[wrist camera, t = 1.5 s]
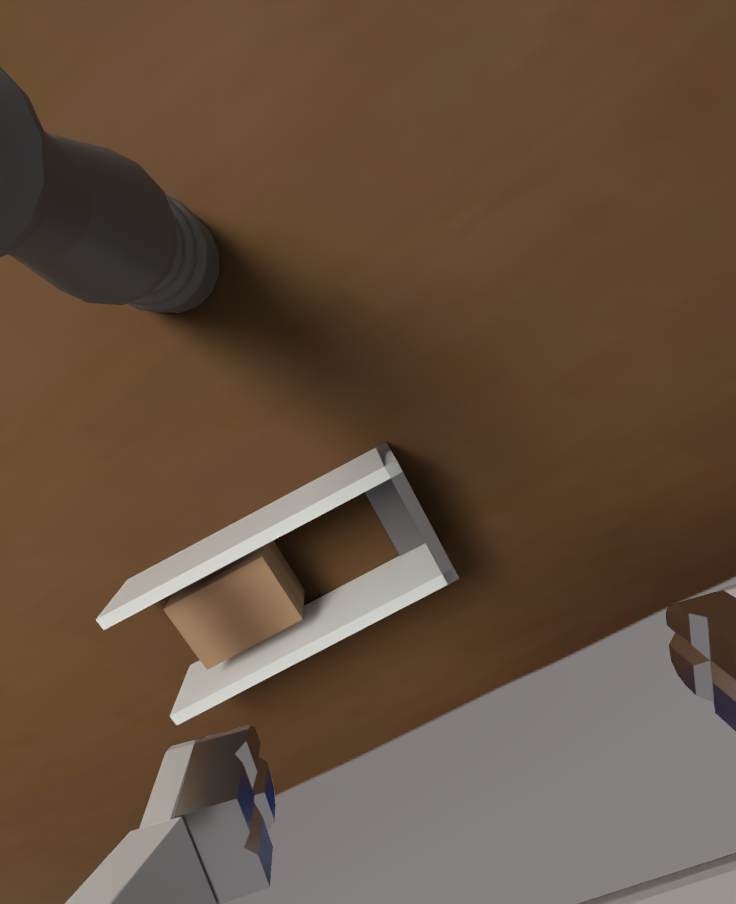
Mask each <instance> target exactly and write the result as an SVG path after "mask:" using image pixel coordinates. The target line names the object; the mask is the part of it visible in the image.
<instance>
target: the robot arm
mask: <svg viewBox="0 0 736 904" xmlns="http://www.w3.org/2000/svg"><path fill="white" fill-rule="evenodd" d="M666 620H667V625H668V626H669V627H670V628H671V629H672V630H673V631H674V632H675V634H674V636H673V638H672V640H671V642H670V644H669V649H670V655H671V661H672V663H673V665H674V667H675V670H676V672H677V674H678V676H679V677H680V678H681V680H682V681H683V682H684V684H685V685H686V686H687V687H688V688H689V689H690V690H691V691H692V692H693V693H694V694H695V695H697V696H700V697H702V698H705V699H708V700H711V701H713V702H714V707H715V713H716V714H717V715H718V716H719V717H721V718H722V719H723V720H724V721H725V722H726V723H727V724H728V725H729V726H730V727H732V728H733V729H734V730H735V731H736V585H733V586H730V587H726V588H723V589H720V590H717V591H716V592H714V593H710V594H707V595H703V596H700V597H696V598H693V599H689V600H686V601H682V602H679V603H676V604H672V605H669V606H668V608H667V611H666ZM259 751H260V740H259V737H258V735H257V732H256V729H255V728H254V727H253V726H252V725H249V726H245V727H241V728H237V729H234V730H230V731H226V732H222V733H218V734H214V735H211V736H207V737H203V738H199V739H198V740H193V741H189V742H185V743H182V744H178V745H174V746H171V747H170V748H169V749H168V750H167V751H166V753H165V756H164V759H163V761H162V764H161V767H160V770H159V773H158V776H157V779H156V782H155V784H154V787H153V790H152V793H151V796H150V799H149V802H148V805H147V807H146V810H145V813H144V816H143V819H142V822H141V825H140V828H139V829H137V830H134V831H130V832H129V833H128V835H127V836H126V837H125V838H124V839H123V840H122V841H121V842H120V843H119V845H118V846H117V847H116V848H115V849H114V850H113V851H112V852H111V853H110V854H109V856H108V857H107V858H106V859H105V860H104V861H103V862H102V863H101V864H100V866H99V867H98V868H97V869H96V870H95V871H94V872H93V873H92V874H91V875H90V877H89V878H88V879H87V880H86V881H85V882H84V883H83V884H82V885H81V886H80V888H79V889H78V890H77V891H76V892H75V893H74V894H73V895H72V896H71V898H70V899H69V900H68V901H67V902H66V903H65V904H222V903H224V902H227V901H231V900H234V899H236V898H239V897H242V896H245V895H248V894H251V893H254V892H257V891H260V890H263V889H265V888H268V887H270V878H271V865H272V851H273V846H272V843H271V840H270V837H269V834H268V831H269V829H270V828H271V826H272V825H273V823H274V821H275V795H274V785H273V781H272V776H271V772H270V769H269V766H268V763H267V762H266V761H265V760H263V759H262V758H260V757H259ZM578 904H736V853H734V854H731V855H727V856H724V857H721V858H718V859H715V860H712V861H709V862H706V863H703V864H699V865H697V866H693V867H690V868H687V869H684V870H681V871H678V872H675V873H671V874H668V875H665V876H662V877H659V878H656V879H653V880H650V881H646V882H643V883H640V884H637V885H634V886H631V887H628V888H625V889H621V890H619V891H615V892H612V893H609V894H606V895H603V896H600V897H597V898H593V899H590V900H587V901H584V902H581V903H578Z"/></svg>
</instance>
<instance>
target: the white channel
mask: <svg viewBox="0 0 736 904" xmlns="http://www.w3.org/2000/svg"><path fill="white" fill-rule="evenodd" d="M395 487H396V488H395ZM364 492H365V494H366V496H367V498H368V499H369V501H370V503H371V505H372V507H373V508H374V510H375V512H376V514H377V516H378V517H379V519H380V521H381V523H382V525H383V526H384V528H385V530H386V532H387V534H388V535H389V537H390V539H391V541H392V542H393V544H394V546H395V548H396V550H397V551H398V553H399V555H400V556H398V557H396V558H394V559H392V560H390V561H389V562H387V563H385V564H383V565H381V566H379V567H377V568H375V569H373V570H371V571H369V572H367V573H366V574H364V575H362V576H360V577H358V578H356V579H354V580H352V581H350V582H348V583H346V584H345V585H343V586H341V587H339V588H337V589H335V590H333V591H331V592H329V593H327V594H325V595H324V596H322V597H320V598H318V599H316V600H314V601H312V602H310V603H308V604H306V605H304V608H303V620H301V621H299V622H297V623H295V624H293V625H291V626H290V627H288V628H286V629H284V630H282V631H280V632H278V633H276V634H274V635H272V636H271V637H269V638H267V639H265V640H263V641H261V642H259V643H257V644H255V645H254V646H252V647H250V648H248V649H246V650H244V651H242V652H240V653H238V654H236V655H235V656H233V657H231V658H229V659H227V660H225V661H223V662H221V663H219V664H218V665H216V666H214V667H212V668H210V669H208V670H207V669H206V668H205V666H204V665H203V664H202V662H201V661H200V660H199V661H197V662H195V663H194V664H192V665H190V667H189V669H188V672H187V674H186V677H185V679H184V682H183V684H182V687H181V689H180V692H179V694H178V697H177V699H176V702H175V704H174V707H173V709H172V712H171V714H170V717H171V719H172V720H173V721H174V723H175V724H176V725H179V724H181V723H182V722H184V721H186V720H188V719H190V718H192V717H194V716H196V715H198V714H200V713H202V712H204V711H206V710H207V709H209V708H211V707H213V706H215V705H217V704H219V703H221V702H223V701H225V700H227V699H229V698H231V697H233V696H234V695H236V694H238V693H240V692H242V691H244V690H246V689H248V688H250V687H252V686H254V685H256V684H258V683H259V682H261V681H263V680H265V679H267V678H269V677H271V676H273V675H275V674H277V673H279V672H281V671H283V670H285V669H286V668H288V667H290V666H292V665H294V664H296V663H298V662H300V661H302V660H304V659H306V658H308V657H310V656H311V655H313V654H315V653H317V652H319V651H321V650H323V649H325V648H327V647H329V646H331V645H333V644H335V643H337V642H338V641H340V640H342V639H344V638H346V637H348V636H350V635H352V634H354V633H356V632H358V631H360V630H362V629H363V628H365V627H367V626H369V625H371V624H373V623H375V622H377V621H379V620H381V619H383V618H385V617H387V616H389V615H390V614H392V613H394V612H396V611H398V610H400V609H402V608H404V607H406V606H408V605H410V604H412V603H414V602H415V601H417V600H419V599H421V598H423V597H425V596H427V595H429V594H431V593H433V592H435V591H437V590H439V589H441V588H442V587H444V586H446V585H448V584H450V583H452V582H454V581H456V580H458V579H459V577H458V575H457V573H456V571H455V570H454V568H453V566H452V564H451V562H450V560H449V558H448V556H447V554H446V553H445V551H444V549H443V547H442V545H441V543H440V541H439V539H438V537H437V536H436V534H435V532H434V530H433V528H432V526H431V524H430V522H429V520H428V519H427V517H426V515H425V513H424V511H423V509H422V507H421V505H420V503H419V502H418V500H417V498H416V496H415V494H414V492H413V490H412V488H411V486H410V485H409V483H408V481H407V479H406V477H405V475H404V473H403V471H402V469H401V468H400V466H399V464H398V462H397V460H396V458H395V456H394V455H393V453H392V451H391V450H390V448H389V446H388V444H387V443H386V442H385V443H383V444H381V445H379V446H378V447H376V448H374V449H372V450H370V451H368V452H366V453H364V454H363V455H361V456H359V457H357V458H355V459H353V460H351V461H349V462H348V463H346V464H344V465H342V466H340V467H338V468H336V469H334V470H332V471H331V472H329V473H327V474H325V475H323V476H321V477H319V478H317V479H316V480H314V481H312V482H310V483H308V484H306V485H304V486H302V487H301V488H299V489H297V490H295V491H293V492H291V493H289V494H287V495H285V496H284V497H282V498H280V499H278V500H276V501H274V502H272V503H270V504H269V505H267V506H265V507H263V508H261V509H259V510H257V511H255V512H254V513H252V514H250V515H248V516H246V517H244V518H242V519H240V520H239V521H237V522H235V523H233V524H231V525H229V526H227V527H225V528H223V529H222V530H220V531H218V532H216V533H214V534H212V535H210V536H208V537H207V538H205V539H203V540H201V541H199V542H197V543H195V544H193V545H192V546H190V547H188V548H186V549H184V550H182V551H180V552H178V553H177V554H175V555H173V556H171V557H169V558H167V559H165V560H163V561H161V562H160V563H158V564H156V565H154V566H152V567H150V568H148V569H146V570H145V571H143V572H141V573H139V574H137V575H135V576H133V577H131V578H130V579H128V580H127V581H126V582H125V583H124V585H123V586H122V587H121V588H120V590H119V591H118V592H117V593H116V595H115V596H114V597H113V599H112V600H111V601H110V602H109V604H108V605H107V606H106V607H105V609H104V610H103V611H102V612H101V614H100V615H99V616H98V617H97V619H96V621H97V622H98V623H99V625H100V626H101V627H102V629H103V630H105V629H107V628H109V627H111V626H112V625H114V624H116V623H118V622H120V621H122V620H124V619H126V618H128V617H129V616H131V615H133V614H135V613H137V612H139V611H141V610H143V609H145V608H146V607H148V606H150V605H152V604H154V603H156V602H158V601H160V600H162V599H163V598H165V597H167V596H169V595H171V594H173V593H175V592H177V591H179V590H180V589H182V588H184V587H186V586H188V585H190V584H192V583H194V582H196V581H197V580H199V579H201V578H203V577H205V576H207V575H209V574H211V573H213V572H214V571H216V570H218V569H220V568H222V567H224V566H226V565H228V564H230V563H231V562H233V561H235V560H237V559H239V558H241V557H243V556H245V555H247V554H248V553H250V552H252V551H254V550H256V549H258V548H260V547H262V546H264V545H265V544H267V543H269V542H271V541H273V540H275V539H277V538H279V537H281V536H282V535H284V534H286V533H288V532H290V531H292V530H294V529H296V528H298V527H300V526H301V525H303V524H305V523H307V522H309V521H311V520H313V519H315V518H317V517H318V516H320V515H322V514H324V513H326V512H328V511H330V510H332V509H334V508H335V507H337V506H339V505H341V504H343V503H345V502H347V501H349V500H351V499H352V498H354V497H356V496H358V495H360V494H362V493H364ZM417 528H418V529H417ZM424 541H425V542H424ZM409 550H410V551H409Z"/></svg>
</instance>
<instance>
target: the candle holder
mask: <svg viewBox="0 0 736 904" xmlns="http://www.w3.org/2000/svg"><path fill="white" fill-rule="evenodd" d="M7 254H8V255H11V256H12V257H14V258H15V259H17V260H18V261H19V262H21V263H22V264H24V265H25V266H27V267H28V268H29V269H31V270H32V271H34V272H35V273H37V274H38V275H40V276H41V277H42V278H44V279H45V280H46V281H48V282H49V283H51V284H52V285H53V286H55V287H56V288H58V289H59V290H61V291H64V292H66V293H68V294H70V295H72V296H74V297H77V298H79V299H81V300H83V301H85V302H88V303H99V304H116V305H123V304H126V303H127V304H129V305H131V306H133V307H135V308H137V309H140V310H146V311H154V312H165V313H182V312H184V311H187V310H190V309H193V308H195V307H198V306H199V305H200V304H201V303H202V302H203V301H204V300H205V299H206V298H207V297H208V296H209V295H210V294H211V293H212V292H213V289H214V287H215V284H216V282H217V279H218V277H219V251H218V249H217V246H216V244H215V241H214V239H213V236H212V234H211V232H210V231H209V230H208V229H207V228H206V226H205V225H204V224H203V223H202V222H201V221H200V220H199V219H198V218H197V216H196V215H194V214H193V213H192V212H191V211H190V210H189V209H188V208H187V207H186V206H185V205H183V204H182V203H181V202H179V201H177V200H176V199H174V198H172V197H170V196H168V195H166V194H165V193H164V191H163V190H162V189H161V188H160V187H159V186H158V185H157V183H156V182H155V181H154V180H153V179H152V178H151V177H150V176H149V175H148V174H147V173H146V171H145V170H144V169H143V168H142V167H141V166H140V165H138V164H137V163H136V162H134V161H132V160H130V159H128V158H126V157H124V156H122V155H120V154H118V153H116V152H114V151H112V150H110V149H108V148H105V147H100V146H96V145H92V144H88V143H83V142H79V141H75V140H71V139H67V138H63V137H59V136H55V135H51V134H47V133H46V132H45V131H44V130H43V128H42V126H41V123H40V121H39V119H38V117H37V115H36V113H35V110H34V108H33V106H32V104H31V102H30V99H29V97H28V96H27V95H26V94H25V93H24V92H23V91H22V89H21V88H20V87H19V86H18V85H17V84H16V83H15V82H14V81H13V80H12V79H11V78H10V77H9V76H8V75H7V73H6V72H5V71H4V70H3V69H2V68H1V67H0V257H2V256H4V255H7Z"/></svg>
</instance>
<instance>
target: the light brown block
mask: <svg viewBox="0 0 736 904" xmlns="http://www.w3.org/2000/svg"><path fill="white" fill-rule="evenodd" d="M304 594H305V590H304V588H303V587H302V585H301V583H300V582H299V580H298V579H297V577H296V576H295V574H294V572H293V571H292V569H291V568H290V566H289V564H288V563H287V561H286V560H285V558H284V557H283V555H282V553H281V552H280V550H279V549H278V547H277V545H276V544H275V542H274V541H271V542H269V543H267V544H265V545H264V546H262V547H260V548H258V549H256V550H254V551H252V552H250V553H248V554H247V555H245V556H243V557H241V558H239V559H237V560H235V561H233V562H231V563H230V564H228V565H226V566H224V567H222V568H220V569H218V570H216V571H214V572H213V573H211V574H209V575H207V576H205V577H203V578H201V579H199V580H197V581H196V582H194V583H192V584H190V585H188V586H186V587H184V588H182V589H180V590H179V591H177V592H175V593H173V594H172V595H171V597H170V599H169V600H168V602H167V604H166V606H165V607H164V609H163V610H164V611H165V613H166V614H167V615H168V617H169V618H170V620H171V621H172V622H173V624H174V625H175V626H176V628H177V629H178V631H179V632H180V633H181V635H182V636H183V637H184V639H185V640H186V642H187V643H188V644H189V646H190V647H191V648H192V650H193V651H194V653H195V654H196V655H197V657H198V658H199V659H200V661H201V662H202V664H203V665H204V666H205V668H206V669H207V670H208V669H210V668H212V667H214V666H216V665H218V664H219V663H221V662H223V661H225V660H227V659H229V658H231V657H233V656H235V655H236V654H238V653H240V652H242V651H244V650H246V649H248V648H250V647H252V646H254V645H255V644H257V643H259V642H261V641H263V640H265V639H267V638H269V637H271V636H272V635H274V634H276V633H278V632H280V631H282V630H284V629H286V628H288V627H290V626H291V625H293V624H295V623H297V622H299V621H301V620H303V608H304Z"/></svg>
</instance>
